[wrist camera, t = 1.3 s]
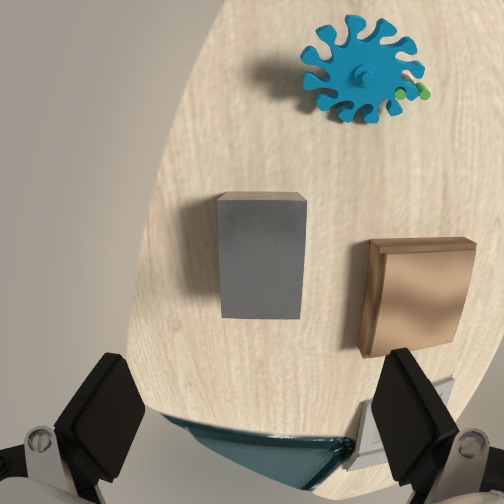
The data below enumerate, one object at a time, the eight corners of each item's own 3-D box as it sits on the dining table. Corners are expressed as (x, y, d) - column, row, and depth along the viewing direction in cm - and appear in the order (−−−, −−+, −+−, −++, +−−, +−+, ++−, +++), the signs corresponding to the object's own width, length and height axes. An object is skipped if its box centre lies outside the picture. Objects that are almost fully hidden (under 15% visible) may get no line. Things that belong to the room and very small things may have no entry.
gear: (286, 111, 19) (324, -2, 10) (282, 78, 22) (310, -13, 13) (402, 144, 21) (457, 63, 12) (384, 108, 23) (425, 35, 15)
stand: (370, 239, 24) (382, 249, 21) (463, 236, 23) (480, 245, 20) (357, 345, 28) (364, 362, 25) (442, 331, 27) (454, 344, 24)
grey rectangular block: (227, 191, 23) (216, 199, 18) (297, 192, 23) (307, 200, 18) (230, 287, 26) (221, 317, 21) (293, 288, 26) (299, 319, 21)
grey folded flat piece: (413, 448, 37) (417, 461, 34) (343, 466, 38) (346, 481, 35) (451, 372, 30) (461, 387, 27) (363, 396, 31) (369, 416, 28)
